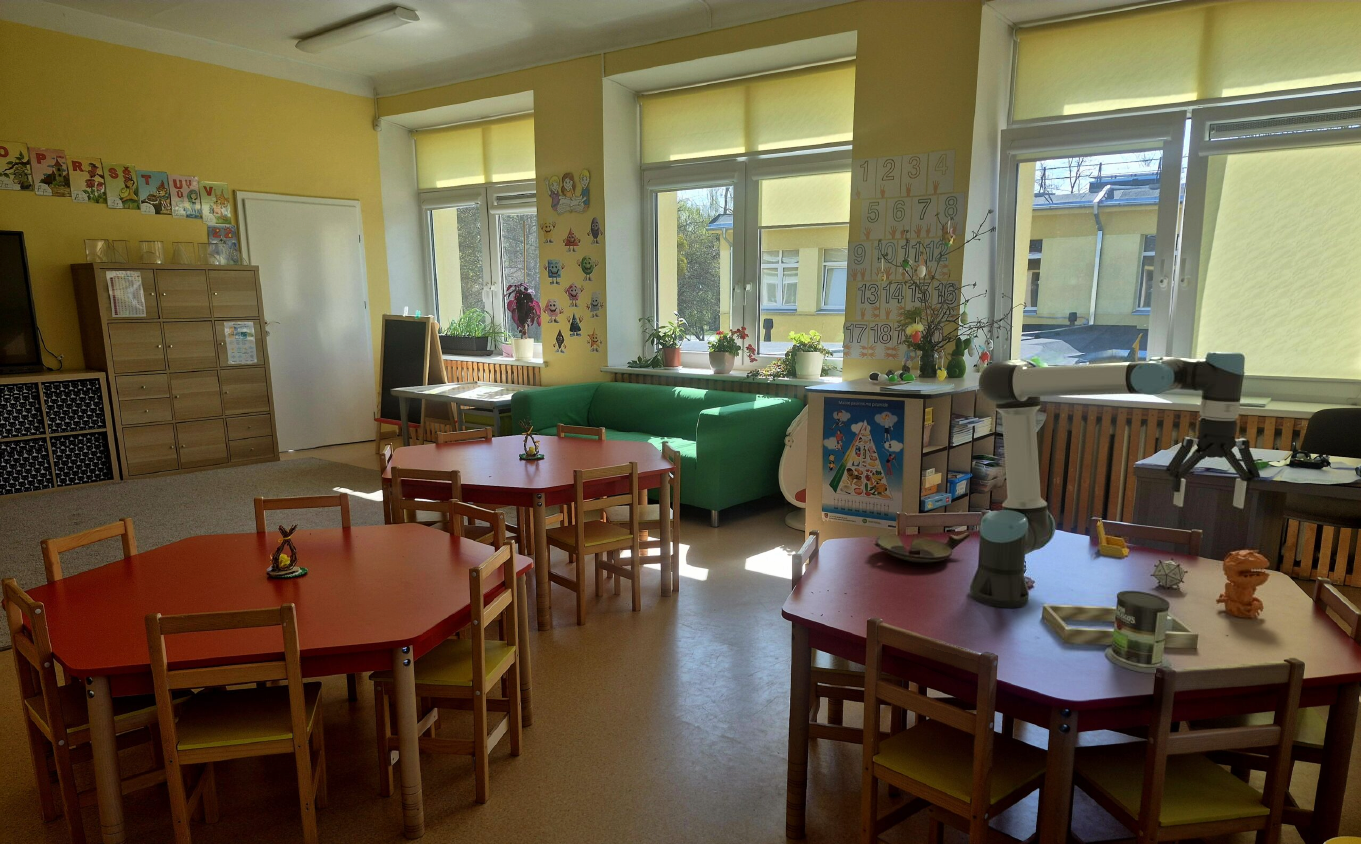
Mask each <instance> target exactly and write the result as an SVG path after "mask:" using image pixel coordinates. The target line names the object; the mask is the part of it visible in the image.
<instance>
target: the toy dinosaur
mask: <svg viewBox="0 0 1361 844" xmlns="http://www.w3.org/2000/svg"><path fill="white" fill-rule="evenodd" d="M1259 551H1260V550H1258V549H1255V550H1249V549H1242V550H1236V551H1230V552H1228V553H1227V554H1226V556H1224V559H1223V562H1222V563H1223V564H1222V571H1223V572H1224V574H1223V575H1224V576H1225V577H1226V580H1227V581H1228V582H1226V583H1225V585H1224V592H1223V593H1220V594H1219V596H1218V599H1215V602H1216V605H1218V604H1222V603H1224V609H1225V612H1226V613H1227V614H1229V615H1230V616H1234V617H1238V618H1243V619H1245V618H1246V619H1247V618H1249V619H1250V618H1252V619H1253V618H1254V617H1255V615H1257V616H1258V617H1260V615H1261V613H1260V612H1262V613H1263V611H1264V605H1263V604H1264V603H1263V601H1262V600H1261V599H1260V598H1258V597H1256V596H1254V595H1255V594H1256V593H1255V592H1256V591H1257V588H1258V587H1260V586H1262V585H1264V584H1265V583H1267V581H1268V579H1269V577H1270V575H1271V574H1270V573H1268V572H1266V571H1265V568H1269V567H1270V561H1269V560H1268V559H1267V558H1266V557H1264V555H1262V554H1259V553H1258V552H1259ZM1259 611H1260V612H1259Z"/></svg>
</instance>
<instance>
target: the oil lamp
mask: <svg viewBox="0 0 1361 844" xmlns="http://www.w3.org/2000/svg"><path fill="white" fill-rule="evenodd" d="M970 535H971V534H970V532H964V533H962V534H960V535H953V534H949V535H948V539H947V541H946V542H943V541H939V540H937V539H934V538H932V537H928V536H923V535H921V536H919V537H913V539H912V541H911V542H912V543H911V545H910V548H909V551H908V550H907V548H906V547H905V545H904V544H903V543H902V541H901V539H900V538H899V535H898V534H896V533H887V534H882V535H880V536H878V537H877V538H876V542H875V543H874V546H875V547H877V548H879V550H881V551H884V552H886V553H888V554H890V555H891V556H893V557H895V558H897V559H900V560H901V559H902V560H904V561H906V562H912V563H919V564H926V563H927V564H928V563H934V562H939V561H942V560H945V559H948V558H950V557H951V556H952V554H953V551H954V549H956V547H958V546H959V545H961V544H962V543H963V542H964V541H966V540H967V539H968V538H969V537H970ZM913 554H919V555H913Z"/></svg>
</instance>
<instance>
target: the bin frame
mask: <svg viewBox="0 0 1361 844" xmlns="http://www.w3.org/2000/svg"><path fill="white" fill-rule="evenodd" d="M1041 608H1042V610H1041V611H1042V612H1041V618H1042V620H1044V622H1045V623H1046V624H1047V625H1048V626H1049V627H1050V628H1051V629H1052V630H1053V631H1054V633H1055V634H1056V635H1057V637H1059V638H1060V639H1061V640H1062V641H1063V643H1064V644H1081V645H1103V646H1107V645H1108V646H1110V645H1111V646H1112V644H1113V635H1114V628H1110V629H1109V628H1087V627H1086V628H1085V627H1069V626H1068V625H1067V624H1066V623H1065V622H1064V621H1065V620H1067V621H1087V622H1088V621H1089V622H1090V621H1091V622H1095V621H1096V622H1114V623H1115V616H1116V606H1098V605H1097V606H1095V605H1094V606H1092V605H1070V604H1069V605H1066V604H1065V605H1063V604H1042V607H1041ZM1168 616H1169V617H1171V618H1173V622H1172V631H1171V632H1167V631H1166V634H1165V642H1164V648H1173V649H1175V648H1177V649H1178V648H1179V649H1198V641H1199V636H1200V635H1199V634H1198V633H1197V632H1196V631H1194V630H1193V629H1192V628H1191V627H1189V625H1187V624H1185V623H1184V622H1183V621H1181V619H1179V618H1177V617H1176V616H1175V615H1174V614H1172V613H1171V612H1170V611H1168Z"/></svg>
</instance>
